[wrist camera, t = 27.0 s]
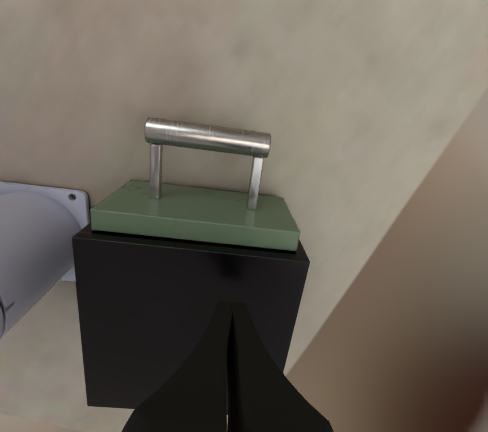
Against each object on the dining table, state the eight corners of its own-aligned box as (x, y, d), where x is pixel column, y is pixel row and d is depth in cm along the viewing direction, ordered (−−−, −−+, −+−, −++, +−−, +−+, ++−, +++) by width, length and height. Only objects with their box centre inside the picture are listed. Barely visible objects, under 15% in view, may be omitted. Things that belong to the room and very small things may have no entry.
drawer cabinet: (126, 192, 22) (70, 237, 15) (286, 210, 23) (310, 261, 15) (129, 321, 26) (87, 406, 19) (262, 332, 27) (272, 418, 20)
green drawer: (130, 110, 19) (83, 113, 13) (295, 132, 20) (320, 144, 14) (132, 307, 25) (100, 370, 19) (260, 318, 26) (267, 382, 20)
